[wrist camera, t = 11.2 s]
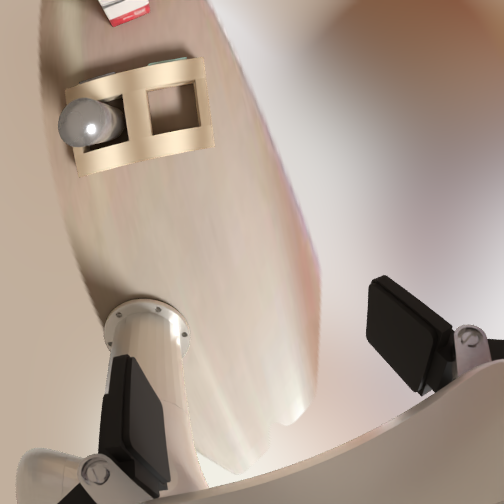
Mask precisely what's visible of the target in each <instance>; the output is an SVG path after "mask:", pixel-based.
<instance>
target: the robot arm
mask: <svg viewBox="0 0 504 504" xmlns="http://www.w3.org/2000/svg"><path fill="white" fill-rule="evenodd" d="M366 337H367V340H368V342H369V343H370V344H371V345H372V346H373V347H374V348H375V350H376V351H377V352H378V353H379V354H380V355H381V356H382V357H383V358H384V359H385V361H386V362H387V363H388V364H389V365H390V366H391V367H392V368H393V369H394V371H395V372H396V373H397V374H398V375H399V376H400V377H401V378H402V379H403V381H404V382H405V383H406V384H407V385H408V386H409V387H410V388H411V390H412V391H414V392H418V393H419V394H420V395H421V396H423V395H424V394H426V393H428V392H429V391H431V390H433V391H434V392H435V393H434V394H433V395H431V396H430V397H428V398H427V399H425V400H423V401H422V402H420V403H419V404H417V405H416V406H414V407H412V408H411V409H409V410H407V411H406V412H404V413H402V414H401V415H399V416H397V417H396V418H394V419H392V420H390V421H388V422H386V423H384V424H383V425H381V426H379V427H377V428H375V429H373V430H371V431H369V432H367V433H365V434H363V435H361V436H359V437H357V438H355V439H353V440H351V441H349V442H347V443H344V444H342V445H340V446H338V447H335V448H333V449H331V450H329V451H326V452H324V453H321V454H319V455H316V456H314V457H311V458H309V459H306V460H304V461H301V462H298V463H295V464H293V465H290V466H287V467H284V468H281V469H278V470H275V471H272V472H269V473H266V474H263V475H259V476H256V477H252V478H249V479H245V480H241V481H238V482H233V483H229V484H225V485H221V486H217V487H212V488H209V486H208V484H207V482H206V480H205V477H204V475H203V473H202V470H201V467H200V465H199V461H198V457H197V454H196V450H195V445H194V440H193V435H192V429H191V423H190V416H189V410H188V403H187V396H186V388H185V380H184V372H183V364H182V358H183V357H184V356H185V354H186V353H187V351H188V349H189V346H190V340H191V337H190V330H189V326H188V324H187V322H186V320H185V318H184V317H183V316H182V315H181V314H180V313H179V312H178V311H177V310H176V309H175V308H173V307H171V306H170V305H168V304H166V303H163V302H160V301H157V300H152V299H135V300H130V301H127V302H124V303H122V304H120V305H119V306H117V307H116V308H115V309H114V310H112V312H111V313H110V314H109V316H108V317H107V320H106V322H105V327H104V339H105V343H106V345H107V347H108V349H109V351H110V352H111V354H110V361H109V367H108V374H107V381H106V388H105V395H104V397H103V403H102V412H101V423H100V434H99V449H98V454H93V455H89V456H87V457H86V458H81V457H77V456H74V455H70V454H66V453H63V452H59V451H55V450H51V449H46V448H34V449H31V450H29V451H27V452H26V453H25V454H24V455H23V456H22V458H21V460H20V462H19V465H18V469H17V475H16V498H17V504H504V340H496V339H487V337H486V334H485V333H484V331H483V330H482V329H480V328H479V327H477V326H474V325H462V326H460V327H458V328H457V329H456V331H453V330H452V325H450V324H449V323H448V322H447V321H445V320H444V319H443V318H442V317H440V316H439V315H438V314H436V313H435V312H434V311H433V310H431V309H430V308H429V307H428V306H426V305H425V304H424V303H422V302H421V301H420V300H418V299H417V298H416V297H414V296H413V295H412V294H411V293H409V292H408V291H407V290H405V289H404V288H403V287H401V286H400V285H398V284H397V283H395V282H394V281H393V280H392V279H390V278H389V277H388V276H386V275H383V276H381V277H378V278H376V279H373V280H372V282H371V284H370V285H369V292H368V312H367V327H366Z"/></svg>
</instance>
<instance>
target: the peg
mask: <svg viewBox="0 0 504 504" xmlns="http://www.w3.org/2000/svg"><path fill="white" fill-rule="evenodd" d="M124 127H125V117H124V115H123V113H122V112H121V111H120V110H119V109H117V108H115V107H112V106H110V105H107V104H104V103H101V102H99V101H96V100H93V99H90V98H78V99H75V100H73V101H72V102H70V103H69V104H68V105H67V106H66V107H65V108H64V109H63V111H62V113H61V115H60V117H59V121H58V130H59V134H60V136H61V138H62V140H63V141H64V142H65V143H66V144H68V145H70V146H72V147H84V146H88V145H93V144H97V143H102V142H107V141H111V140H114V139H116V138H117V137H119V136H120V135H121V133H122V132H123V130H124Z"/></svg>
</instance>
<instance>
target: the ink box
mask: <svg viewBox="0 0 504 504" xmlns="http://www.w3.org/2000/svg"><path fill="white" fill-rule="evenodd" d="M98 1H99V3H100V5H101V7H102V9H103V10H104V12H105V14H106V16H107V17H108V19H109V21H110V23H111V25H112V26H113V27H115V26H118V25H120V24H123V23H125V22H128V21H130V20H133V19H135V18H138V17H140V16H142V15H145V14H147V13H149V12H150V7H149V1H148V0H98Z"/></svg>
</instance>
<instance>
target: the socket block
mask: <svg viewBox="0 0 504 504" xmlns="http://www.w3.org/2000/svg"><path fill="white" fill-rule="evenodd" d="M187 84H193V85H194V93H195V100H196V108H197V115H198V122H199V127H194V128H189V129H183V130H178V131H172V132H167V133H162V134H158V135H153V128H152V122H151V115H150V108H149V100H148V93H147V92H149V91H154V90H159V89H164V88H169V87H175V86H181V85H187ZM65 98H66V106H67V105H68V104H69V103H70V102H72V101H73V100H75V99H78V98H90V99H93V100H96V101H99V102H101V103H104V102H108V101H112V100H115V99H119V98H123V103H124V110H125V117H126V124H127V130H128V136H129V141H127V142H123V143H119V144H115V145H112V146H108V147H104V148H101V149H97V150H94V151H90V145H88V146H84V147H73V152H74V157H75V162H76V167H77V172H78V177H79V178H80V177H83V176H87V175H90V174H94V173H97V172H101V171H105V170H108V169H112V168H116V167H120V166H124V165H128V164H132V163H136V162H140V161H145V160H149V159H154V158H158V157H163V156H168V155H173V154H178V153H183V152H188V151H194V150H199V149H205V148H211V147H215V143H214V136H213V128H212V121H211V113H210V106H209V98H208V90H207V82H206V74H205V66H204V58H203V57H200V58H192V59H187V57H184V58H178V59H172V60H166V61H160V62H155V63H150V64H148V66H146V67H142V68H137V69H133V70H129V71H124V72H120V73H117V74H116V73H115V72H112V73H108V74H105V75H101V76H98V77H95V78H91V79H88V80H85V81H82V82H79V85H76V86H73V87H70V88H68V89H65Z"/></svg>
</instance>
